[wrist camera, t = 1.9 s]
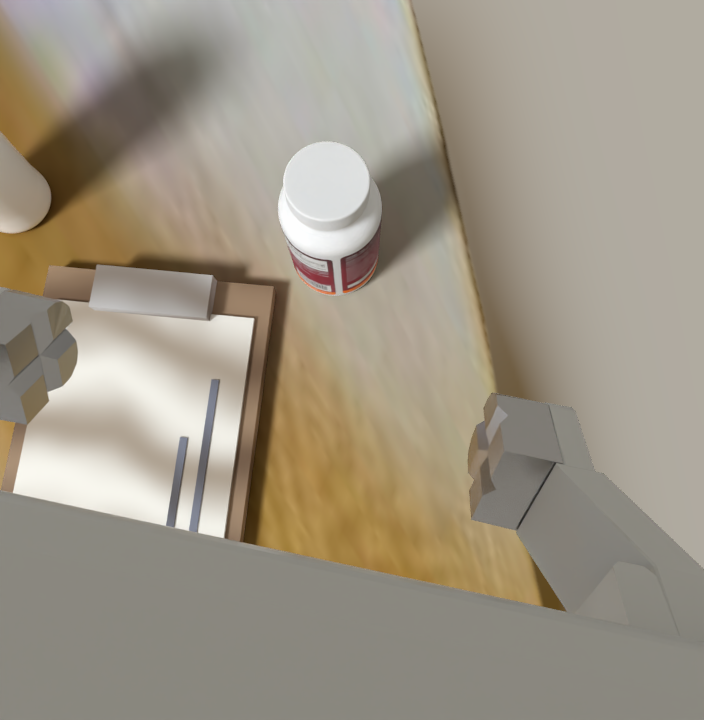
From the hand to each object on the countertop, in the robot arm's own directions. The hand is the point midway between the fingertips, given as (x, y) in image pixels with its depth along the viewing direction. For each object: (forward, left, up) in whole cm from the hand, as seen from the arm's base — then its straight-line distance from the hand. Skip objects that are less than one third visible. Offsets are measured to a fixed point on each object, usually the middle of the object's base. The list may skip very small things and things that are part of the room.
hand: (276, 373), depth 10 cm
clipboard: (-1, +13, -27) cm, 30 cm away
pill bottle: (+13, +1, -27) cm, 30 cm away
